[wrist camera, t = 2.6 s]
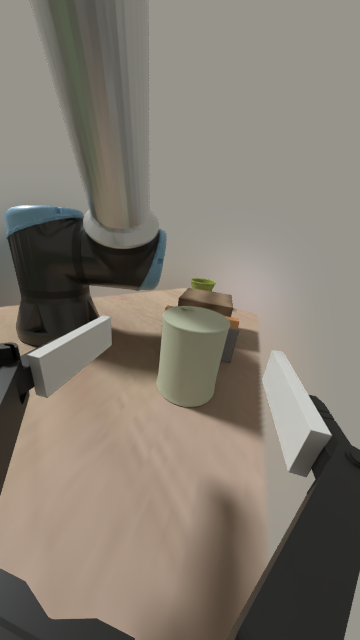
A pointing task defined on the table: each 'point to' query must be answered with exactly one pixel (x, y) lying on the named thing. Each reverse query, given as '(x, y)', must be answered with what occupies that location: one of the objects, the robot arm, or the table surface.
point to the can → (190, 354)
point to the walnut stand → (207, 301)
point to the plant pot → (202, 284)
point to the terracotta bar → (233, 321)
